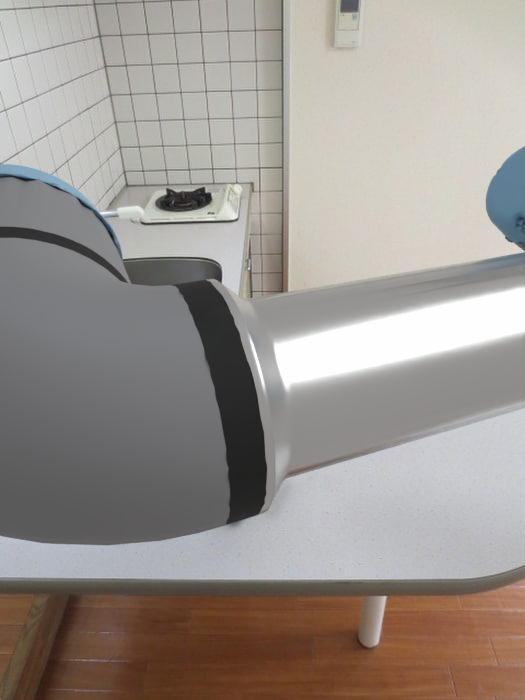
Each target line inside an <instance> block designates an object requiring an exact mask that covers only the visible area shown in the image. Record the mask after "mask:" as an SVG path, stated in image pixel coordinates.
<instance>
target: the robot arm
mask: <svg viewBox="0 0 525 700" xmlns="http://www.w3.org/2000/svg"><path fill="white" fill-rule="evenodd" d="M485 210H486V214H487V217H488V218H489V220H490V221H491V223H492V224H493V225H494V226H495V227H496V229H498V231H500V233H501V234H502V235H503V236H504V239H505V240H506V241H507V242H509V243H511V244H515V245H516V246H517V247H518V248H520V250H522V251H523V252H519V253H512V254H505V255H500V256H496V257H487V258H481V259H476V260H470V261H465V262H459V263H452V264H447V265H441V266H434V267H429V268H422V269H416V270H410V271H405V272H398V273H393V274H386V275H381V276H374V277H370V278H368V277H367V278H363V279H357V280H350V281H344V282H338V283H331V284H326V285H320V286H315V287H314V286H313V287H309V288H302V289H296V290H291V291H284V292H278V293H272V294H267V295H261V296H256V297H255V296H254V297H250V298H249V297H248V298H243V297H242V296H240V295H238V294H236V293H235V292H234V291H233V290H231V289H230V288H228V287H227V286H226V285H224V284H223V283H222V282H221V281H219V280H217V279H215V278H207V279H201V280H200V279H199V280H194V281H187V282H181V283H174V284H165V285H145V284H136V283H135V284H134V283H132V282H131V279H130V277H129V275H128V272H127V269H126V268H125V265H124V257H123V252H122V248H121V244H120V241H119V238H118V237H117V235H116V232H115V230H114V229H113V227H112V225H111V224H110V223H109V221H108V220H107V219H106V218H105V216H103V214H101V212H100V211H99V210H98V209H97V207H96V206H95V205H94V203H92V202H91V200H89V198H88V197H86V196H85V195H84V194H83V193H82V192H81V191H79V190H78V189H77V188H76V187H74V186H73V185H72V184H70V183H68V182H67V181H65V180H64V179H61V178H59V177H57V176H55V175H53V174H51V173H48V172H47V171H44V170H41V169H38V168H33V167H30V166H25V165H19V164H10V163H9V164H8V163H0V537H4V538H9V539H15V540H20V541H27V542H32V543H33V542H34V543H38V544H39V543H40V544H50V545H51V544H52V545H81V546H117V545H128V544H129V545H130V544H141V543H151V542H161V541H166V540H172V539H176V538H181V537H186V536H191V535H196V534H200V533H201V534H202V533H204V532H207V531H210V530H214V529H217V528H221V527H224V526H227V525H230V524H233V523H236V522H240V521H243V520H246V519H251V518H253V517H256V516H259V515H262V514H265V513H266V512H268V510H269V509H270V507H271V506H272V505H273V502H274V501H275V498H276V496H277V494H278V492H279V490H280V488H281V486H282V484H283V483H284V481H285V480H286V479H290V478H292V477H296V476H299V475H303V474H306V473H310V472H312V471H316V470H320V469H323V468H326V467H330V466H333V465H337V464H340V463H345V462H347V461H350V460H351V461H352V460H354V459H357V458H360V457H364V456H367V455H368V456H369V455H371V454H376V453H377V452H381V451H384V450H388V449H392V448H395V447H398V446H402V445H405V444H409V443H411V442H416V441H419V440H422V439H426V438H429V437H432V436H436V435H439V434H443V433H446V432H450V431H453V430H456V429H459V428H463V427H467V426H470V425H473V424H477V423H480V422H483V421H486V420H490V419H495V418H497V417H501V416H504V415H507V414H510V413H515V412H518V411H521V410H524V409H525V145H524V146H522V147H521V148H519V149H517V150H516V151H514V152H513V153H512V154H510V156H508V157H507V158H506V159H505V160H504V161H503V163H502V164H501V166H500V167H499V168H498V169H497V171H496V173H495V175H493V176H492V178H491V180H490V182H489V184H488V187H487V190H486V194H485Z"/></svg>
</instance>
